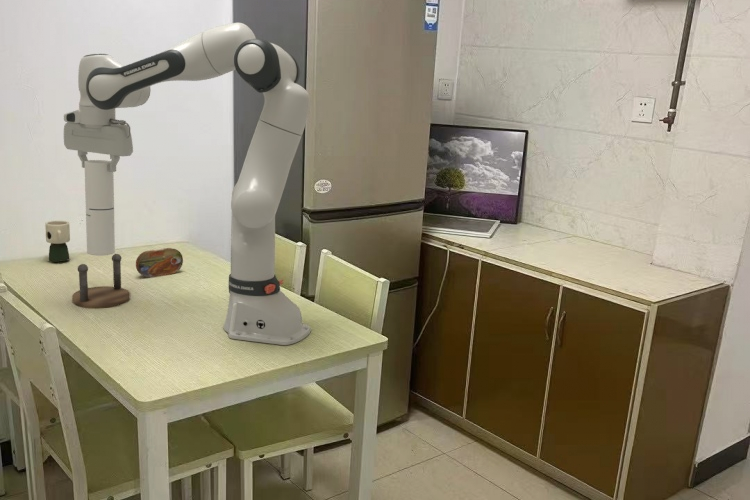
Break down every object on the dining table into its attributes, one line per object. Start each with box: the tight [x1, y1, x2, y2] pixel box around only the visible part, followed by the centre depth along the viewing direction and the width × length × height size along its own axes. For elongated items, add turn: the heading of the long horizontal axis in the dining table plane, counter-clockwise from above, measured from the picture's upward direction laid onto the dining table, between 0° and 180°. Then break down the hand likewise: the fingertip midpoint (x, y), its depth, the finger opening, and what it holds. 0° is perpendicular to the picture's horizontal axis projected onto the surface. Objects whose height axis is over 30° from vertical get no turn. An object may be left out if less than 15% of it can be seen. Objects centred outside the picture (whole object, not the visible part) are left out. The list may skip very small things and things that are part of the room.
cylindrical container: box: [84, 159, 116, 257], centre depth 187 cm, size 7×7×25 cm
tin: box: [135, 247, 184, 279], centre depth 219 cm, size 15×3×8 cm, turn 133°
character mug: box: [44, 220, 71, 263], centre depth 225 cm, size 11×7×13 cm, turn 30°
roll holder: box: [71, 253, 131, 309], centre depth 192 cm, size 15×16×12 cm
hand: (98, 169), depth 185 cm, fingers closed on cylindrical container, 7 cm apart
